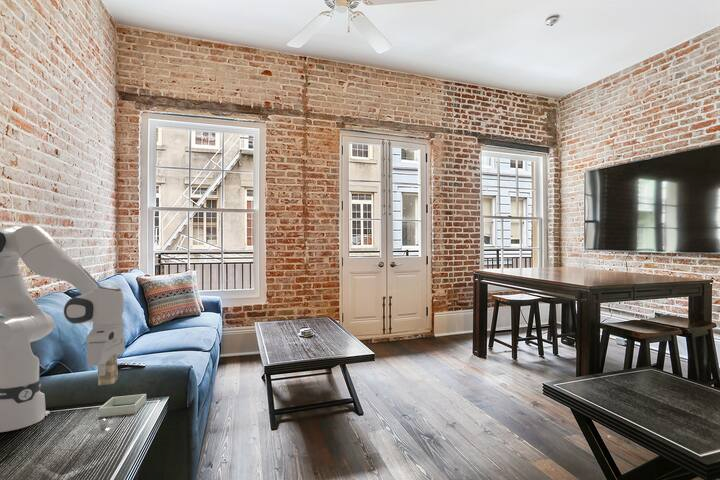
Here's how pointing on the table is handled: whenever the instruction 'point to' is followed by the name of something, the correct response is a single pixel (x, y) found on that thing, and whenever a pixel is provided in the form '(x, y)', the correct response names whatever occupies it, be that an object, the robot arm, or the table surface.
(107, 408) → the bin
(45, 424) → the table surface
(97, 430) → the grey pot lid
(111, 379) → the tan rectangular block
